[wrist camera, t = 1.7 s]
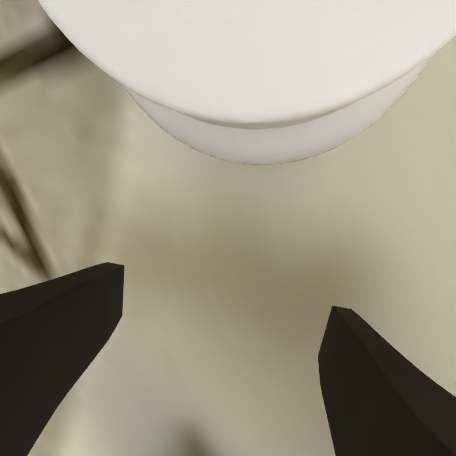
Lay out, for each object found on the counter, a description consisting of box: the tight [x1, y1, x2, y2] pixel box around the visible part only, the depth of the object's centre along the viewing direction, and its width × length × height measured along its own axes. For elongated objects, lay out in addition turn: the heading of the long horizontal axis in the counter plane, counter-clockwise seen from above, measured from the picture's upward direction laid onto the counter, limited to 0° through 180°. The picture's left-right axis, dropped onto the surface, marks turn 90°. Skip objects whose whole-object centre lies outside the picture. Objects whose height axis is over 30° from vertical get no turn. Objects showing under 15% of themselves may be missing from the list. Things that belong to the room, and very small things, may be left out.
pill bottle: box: [38, 0, 456, 165], centre depth 7 cm, size 6×6×11 cm
